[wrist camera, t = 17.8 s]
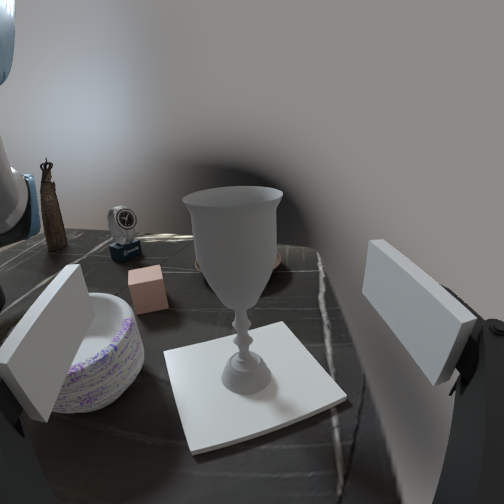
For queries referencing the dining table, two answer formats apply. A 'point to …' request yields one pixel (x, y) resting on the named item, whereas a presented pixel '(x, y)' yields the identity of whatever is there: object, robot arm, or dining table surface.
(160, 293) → the terracotta block
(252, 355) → the chalice
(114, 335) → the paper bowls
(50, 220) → the statue
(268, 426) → the board
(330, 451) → the dining table surface
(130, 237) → the watch
